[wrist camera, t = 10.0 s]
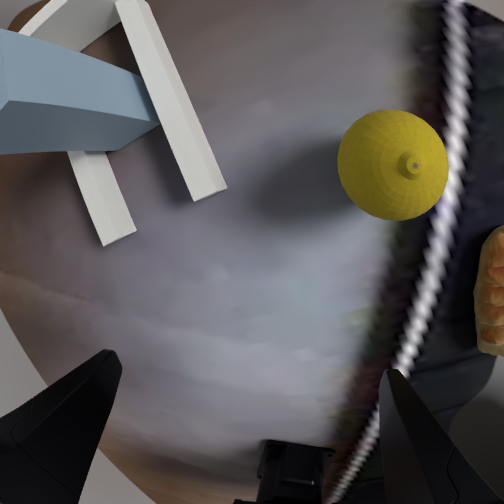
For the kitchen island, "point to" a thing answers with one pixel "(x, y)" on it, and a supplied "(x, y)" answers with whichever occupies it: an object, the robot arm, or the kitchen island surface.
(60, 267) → the kitchen island surface
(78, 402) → the robot arm
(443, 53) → the kitchen island surface
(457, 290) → the kitchen island surface
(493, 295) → the pastry
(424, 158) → the lemon
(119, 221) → the track
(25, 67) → the blue gray block
